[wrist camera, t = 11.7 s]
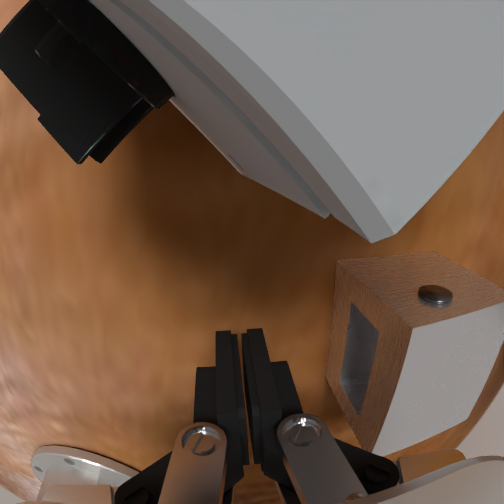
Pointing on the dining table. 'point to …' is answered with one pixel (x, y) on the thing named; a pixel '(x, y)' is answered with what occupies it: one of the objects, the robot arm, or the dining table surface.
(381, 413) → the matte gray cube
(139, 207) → the dining table surface
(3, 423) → the dining table surface
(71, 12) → the circuit breaker
